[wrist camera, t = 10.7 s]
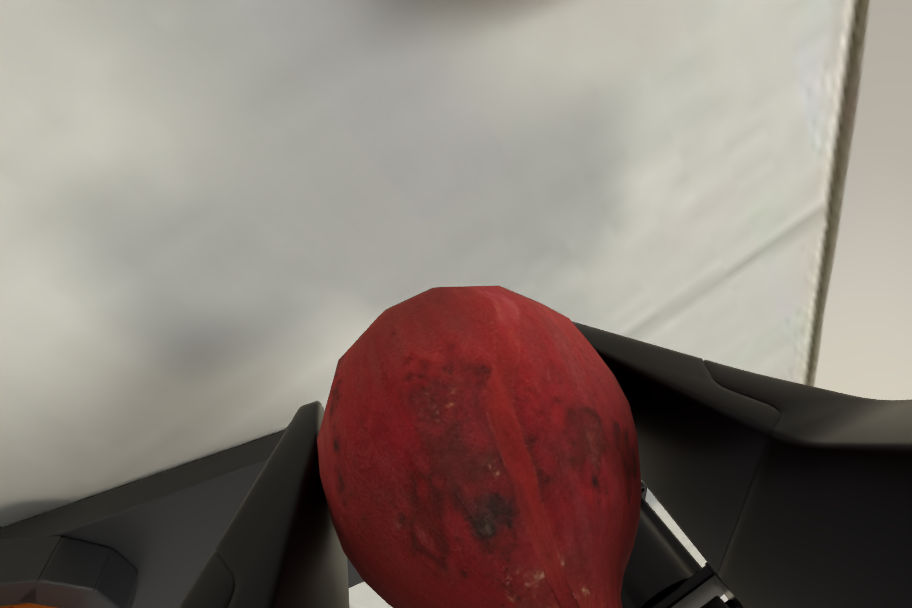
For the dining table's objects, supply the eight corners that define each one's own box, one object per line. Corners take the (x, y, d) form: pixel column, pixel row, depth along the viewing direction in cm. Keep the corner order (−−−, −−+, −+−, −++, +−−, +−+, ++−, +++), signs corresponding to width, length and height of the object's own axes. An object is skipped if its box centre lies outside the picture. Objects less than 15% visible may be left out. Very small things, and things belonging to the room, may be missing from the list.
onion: (266, 302, 9) (148, 897, 2) (486, 197, 10) (901, 428, 3) (377, 448, 12) (464, 882, 5) (538, 362, 13) (796, 658, 6)
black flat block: (307, 407, 17) (307, 461, 14) (375, 551, 23) (383, 607, 20) (-116, 549, 14) (-207, 649, 11) (90, 673, 20) (59, 756, 17)
